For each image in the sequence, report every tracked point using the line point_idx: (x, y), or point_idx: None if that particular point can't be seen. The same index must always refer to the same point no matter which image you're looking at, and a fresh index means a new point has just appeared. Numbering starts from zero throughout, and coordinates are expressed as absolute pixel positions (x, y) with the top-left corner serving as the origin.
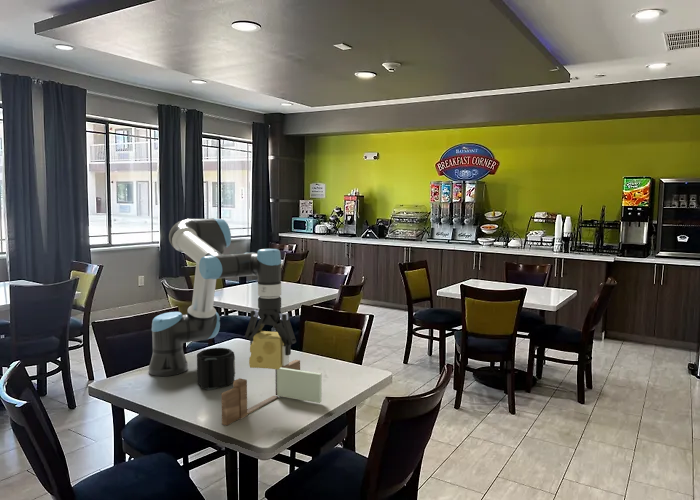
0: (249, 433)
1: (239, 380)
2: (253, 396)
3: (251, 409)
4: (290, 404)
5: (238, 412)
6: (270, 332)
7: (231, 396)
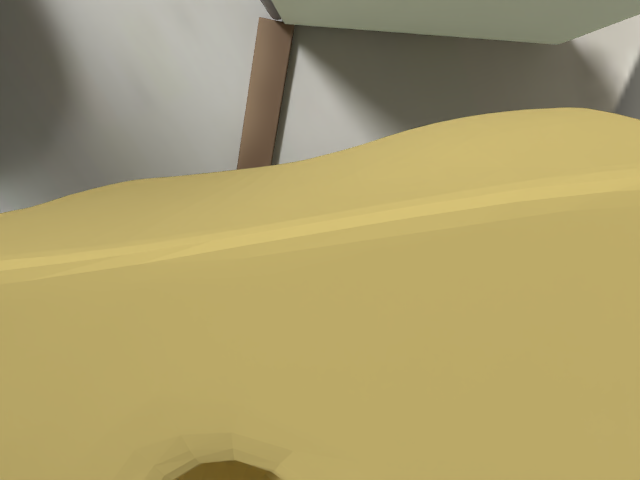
0: None
1: None
2: (156, 54)
3: None
4: (392, 89)
5: None
6: (167, 373)
7: None
